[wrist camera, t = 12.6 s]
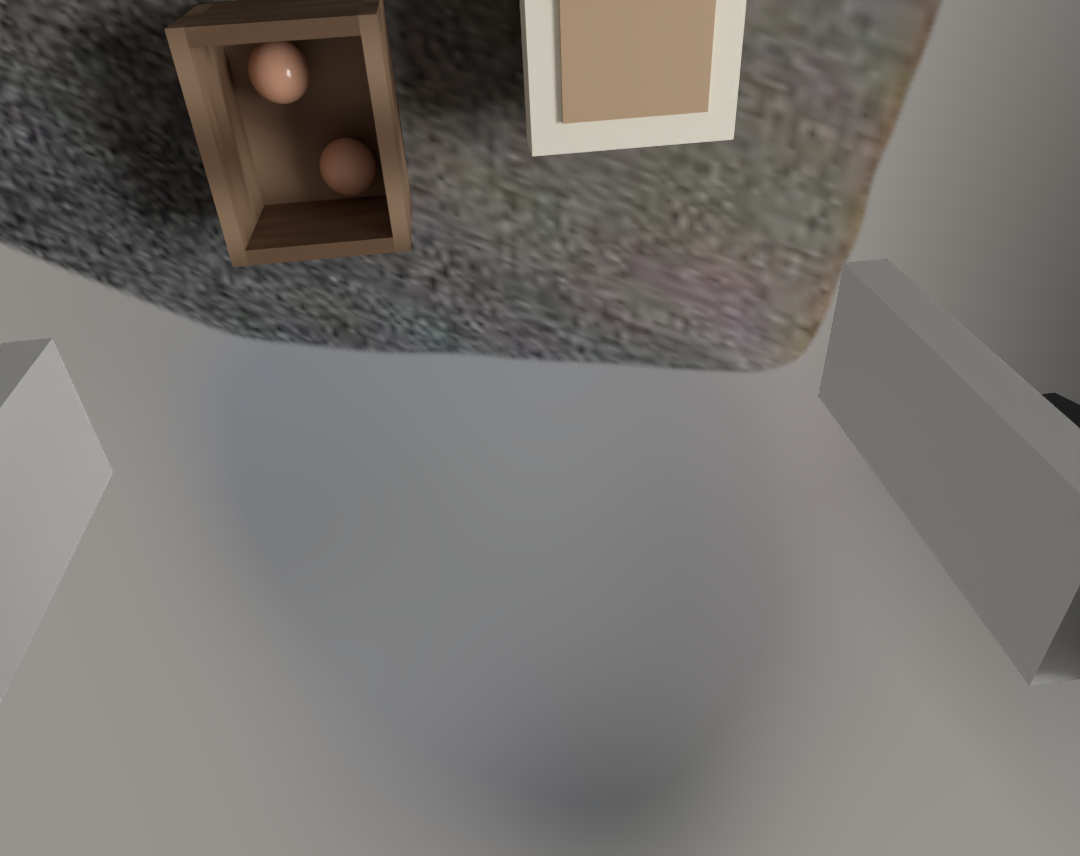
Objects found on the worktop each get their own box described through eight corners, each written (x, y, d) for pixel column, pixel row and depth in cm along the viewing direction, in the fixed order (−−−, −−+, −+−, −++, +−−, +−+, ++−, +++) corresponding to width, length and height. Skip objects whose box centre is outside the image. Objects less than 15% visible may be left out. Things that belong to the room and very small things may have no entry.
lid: (511, -148, 34) (517, -148, 32) (742, -161, 35) (764, -161, 33) (527, 141, 41) (533, 158, 39) (719, 125, 42) (735, 141, 40)
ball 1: (246, 35, 41) (235, 47, 38) (306, 31, 41) (299, 43, 39) (261, 97, 43) (251, 113, 40) (319, 93, 43) (312, 108, 40)
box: (199, 3, 40) (164, 28, 35) (382, -9, 41) (376, 14, 35) (255, 216, 47) (232, 267, 41) (411, 202, 47) (411, 250, 42)
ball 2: (317, 133, 44) (311, 149, 41) (372, 128, 44) (370, 145, 42) (328, 187, 46) (323, 206, 43) (381, 183, 46) (379, 201, 43)
